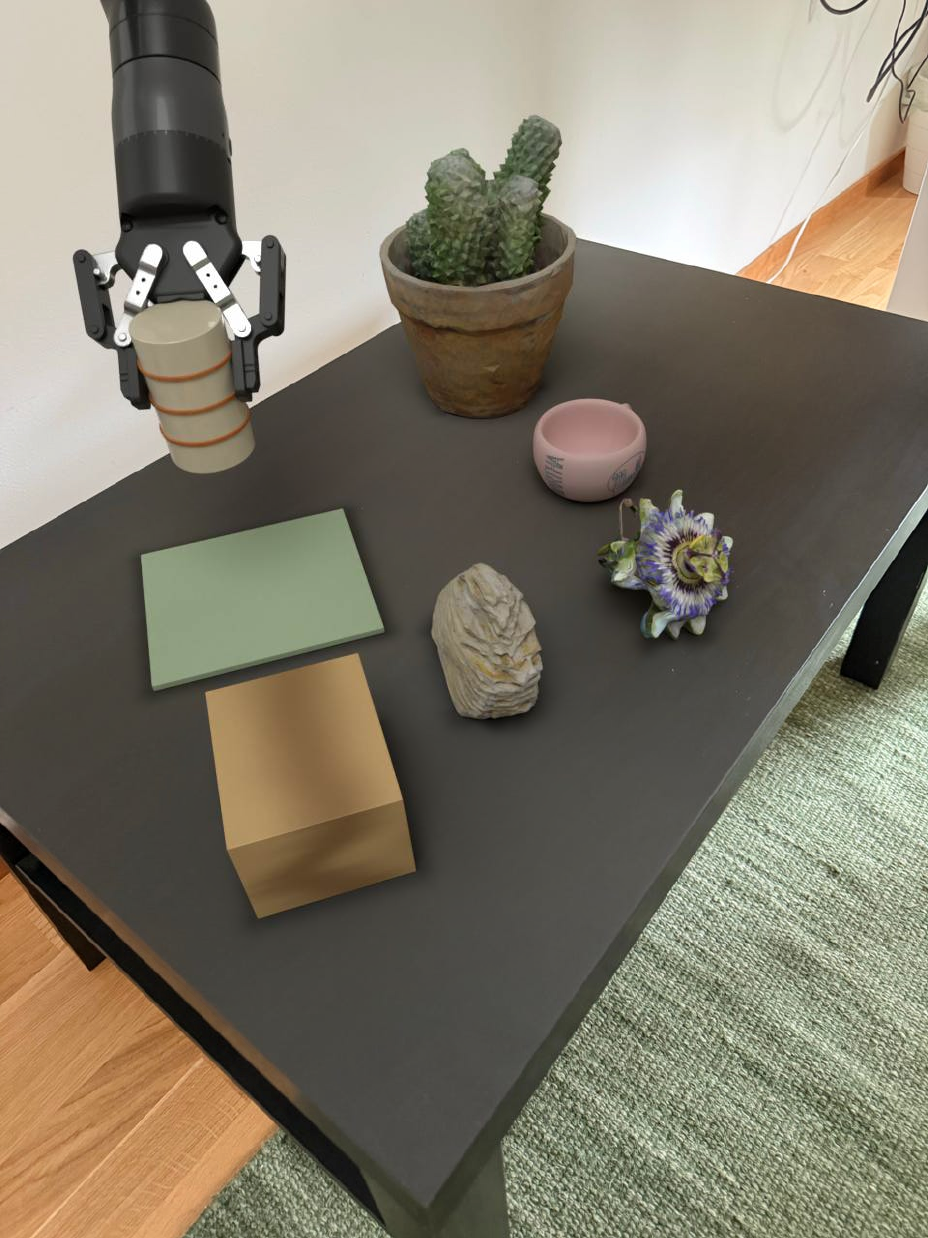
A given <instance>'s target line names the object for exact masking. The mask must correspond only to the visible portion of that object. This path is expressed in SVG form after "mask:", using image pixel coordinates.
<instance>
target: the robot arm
mask: <svg viewBox="0 0 928 1238" xmlns="http://www.w3.org/2000/svg"><path fill="white" fill-rule="evenodd" d="M99 2H100V5H101V7H102V10H103V12H104V15H105V18H106V20H107V23H108V40H109V41H108V42H109V52H110V64H111V77H112V96H111V97H112V98H111V112H110V115H111V117H110V118H111V131H112V143H113V156H114V170H115V171H114V172H115V181H116V182H115V183H116V194H117V207H118V219H119V226H120V235H119V239H118V242H117V244H116V246H115V248H114V250H111V251H106V252H100V253H95V254H94V253H93V254H91V252H89V251H88V250H87V249H84V248H80V249H77V250H75V252H74V253H73V255H72V264H73V269H74V274H75V280H76V284H77V291H78V296H79V301H80V307H81V311H82V312H81V313H82V317H83V318H82V319H83V323H84V328H85V333H86V335H87V336H88V337H89V338H90V339H92V340H93V341H94V342H95V343H97V344H99V346H101V347H103V348H104V349H106V350H114V351H116V354H117V364H118V375H119V376H118V377H119V379H118V380H119V389H120V392H121V395H122V397H123V398H125V399H126V400H127V401H129V403H130V405H131V406H132V407H134V408H135V409H136V410H138V411H144V410H145V411H146V410H151V409H152V404H151V402H150V400H149V396H148V394H149V390H148V387H147V384H146V381H145V378H144V375H143V374H142V373H141V372H140V370H139V368H138V365H137V355H136V352H135V349H134V346H133V343H132V340H131V337H130V334H129V331H128V327H129V323H130V322H131V320H132V319H133V318H134V317H135V316H136V315H137V314H138V313H141V312H142V311H143V310H145V309H147V308H149V307H151V306H153V305H156V304H159V303H171V302H175V301H179V300H191V301H195V300H196V301H197V300H207V301H210V302H213V303H215V304H216V305H217V307H219V308H220V309H221V311H222V314H223V318H224V320H225V321H226V322H227V324H228V325H229V327H230V328H231V330H232V332H233V336H234V339H230V340H231V352H232V364H233V377H234V389H235V395H236V398H237V399H238V400H239V401H240V402H242V403H243V402H246V403H252V402H253V398H254V397H253V394H257V393H259V392H260V388H261V384H262V383H261V371H260V361H259V360H260V359H259V358H260V357H259V346H260V344H261V343H262V342H263V341H264V340H266V339H268V338H271V337H275V338H276V337H279V336H281V335H283V334H284V332H285V329H286V328H285V327H286V326H285V325H286V290H287V289H286V285H287V254H286V252H285V250H284V248H283V246H282V244H281V242H280V240H279V239H278V237H277V236H275V235H273V234H268V235H265V236H264V237H262V239H261V240H242V239H241V237H240V235H239V233H238V228H237V217H236V203H235V190H234V177H233V165H232V163H233V162H232V156H233V145H232V139H231V138H230V128H229V119H228V115H227V110H226V109H227V108H226V106H225V105H226V104H225V101H224V95H223V87H222V86H223V84H222V73H221V61H220V60H221V59H220V50H219V49H220V47H219V46H220V45H219V39H218V37H219V36H218V30H217V23H216V19H215V15H214V13H213V10H212V8H211V5H210V4H209V3H208V1H207V0H99ZM246 260H247V261H250V265H251V267H252V269H253V271H254V272H255V274H256V275H257V276H259V306H258V307H259V308H258V313H257V314H255V315H252V316H250V317H248V316H247V314H246V312H245V311H244V309H243V308H242V306H241V304H240V302H239V301H238V299H237V298H236V296H235V295H234V293H233V292H232V290H231V289H230V286H231V284H232V283H233V281H234V279H235V278H236V276H237V275H238V273H239V272H240V269H241V268H242V266H243V265H244V263H245V261H246ZM121 270H123V272H124V273H125V274H126V275H127V276H128V278H129V279H130V280H131V281H132V283H131V285H130V287H129V289H128V292H127V294H126V296H125V299H124V301H123V312H122V315H121V317H120V319H119V322H118V324H117V327H116V323H115V318H114V316H115V315H114V312H113V307H112V301H111V295H110V289H111V288H112V287H114V286H115V283H116V275H117V273H119V271H121Z"/></svg>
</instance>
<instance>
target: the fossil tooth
mask: <svg viewBox="0 0 928 1238" xmlns="http://www.w3.org/2000/svg"><path fill="white" fill-rule="evenodd" d="M523 598H524V594H523V592H521V591H520V589H519V588H518V587H516V586H515V585H514V584H513V582H511V581H510V580H509V578H508V577H507V576H506V575H505V574H501V573H499V572H498V571H497V570H495V568H493V567H492V566H491V565H488V564H485V563H483V562H479V563H475V564H472V566H471V567H469V568H468V569H465V570H464V571H463V572H460V573H459V574H457V576H455V577H454V578H452V579H451V580H450V581H449V582H448V583H447V584H446V585H445V586H444V588H442V589H441V591H440V592H439V593H438V596H437V598H436V603H435V605H434V611H433V614H432V627H431V638H432V639H433V641H434V644H435V645H436V647H437V653H438V658H439V661H440V664H441V668H442V670H443V674H444V677H445V681H446V682H445V683H446V686H447V688H448V692H449V695H450V698H451V702H452V704H453V706H454V708H455V710H456V713H458V715H460V716H461V717H464V718H471V719H477V720H485V719H488V718H492V719H497V718H503V717H512V716H514V715H518V714H523V713H527V712H529V710H530V709H532V707H534V706H535V704H536V702H537V700H538V699H539V697H538V694H539V693H540V690H539V684H538V683H539V681H540V679H541V672H542V671H543V669H544V668H543V662H542V657H541V655H540V653H539V652H540V651H541V650H542V647H541V645H540V641H539V639H538V637H537V635H536V634H537V633H536V629H535V625H536V624H537V621H536V619H535V618H534V616H533V613H532V611H531V609H530V607H529V605H528V604H527V603H526V602H525V601H524V600H523Z"/></svg>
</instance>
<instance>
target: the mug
mask: <svg viewBox="0 0 928 1238" xmlns="http://www.w3.org/2000/svg"><path fill="white" fill-rule="evenodd" d="M632 409H633V408H632V406H631V405H630V404H629V403H621V404H620V403H619V402H615V401H611V400H607V399H601V398H579V399H573V400H568V401H565V402H561V403H559V404H557V405H555V406H553V407H551V408H549V409H548V410H547V411H545V412H544V414H542V415H541V417H540V418H539V419H538V420H537V422H536V424H535V427H534V431H533V435H532V436H533V438H532V455H533V460H534V463H535V466H536V469H537V470H538V473H539V474H540V476H541V479H542V480H543V482H544V483H545V484H546V485H547V487H548V488H549V489H550V490H551V491H553V492H554V493H555V494H556V495H559V496H561V497H563V498H566V499H568V500H570V501H577V502H580V503H581V502H583V503H593V502H601V501H606V500H609V499H612V498H615V497H616V496H618V495H620V494H622V493H623V492H624V491H625V490H627V488H629V486H631V485H632V483H633V481H635V479H636V477H637V475H638V474H639V472H640V470H641V469H642V467H643V463H644V461H645V457H646V451H647V433H646V427H645V425H644V422H643V421H642V419H641V417H639V415H637V413H636V412H635V411H633V410H632Z"/></svg>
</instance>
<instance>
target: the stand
mask: <svg viewBox="0 0 928 1238" xmlns="http://www.w3.org/2000/svg"><path fill="white" fill-rule="evenodd" d="M204 694H205V700H206V701H205V702H206V708H207V715H208V716H207V717H208V724H209V730H210V737H211V745H212V753H213V759H214V766H215V767H214V768H215V773H216V782H217V789H218V797H219V802H220V811H221V818H222V824H223V832H224V839H225V847H226V852H227V853H228V855H229V858H230V860H231V862H232V864H233V867H234V870H235V871H236V874H237V876H238V878H239V880H240V882H241V884H242V887H243V888H244V891H245V893H246V895H247V897H248V900H249V902H250V904H251V906H252V909H253V911H254V913H255V915H256V917H257V919H258V920H259V919H262V918H265V917H266V918H267V917H269V916H272V915H276V914H278V913H282V912H285V911H289V910H292V909H295V908H298V907H301V906H305V905H309V904H312V903H316V902H319V901H322V900H326V899H328V898H332V897H335V896H338V895H343V894H345V893H348V892H352V891H355V890H359V889H361V888H362V889H363V888H366V887H368V886H372V885H375V884H379V883H382V882H385V881H388V880H391V879H395V878H399V877H401V876H405V875H409V874H411V873H415V872H416V871H417V868H416V862H415V857H414V852H413V847H412V841H411V836H410V830H409V825H408V819H407V818H408V817H407V814H406V809H405V802H404V798H403V795H402V792H401V789H400V785H399V782H398V778H397V776H396V775H397V774H396V772H395V769H394V766H393V765H394V764H393V762H392V758H391V756H390V752H389V749H388V745H387V741H386V739H385V736H384V733H383V729H382V726H381V722H380V719H379V716H378V714H377V713H378V712H377V709H376V706H375V703H374V700H373V697H372V693H371V690H370V687H369V684H368V681H367V676H366V674H365V671H364V668H363V664H362V661H361V658H360V654H359V653H358V652H355V653H352V654H351V653H350V654H347V655H345V656H344V655H343V656H339V657H336V658H332V659H329V660H325V661H320V662H317V663H313V664H309V665H306V666H301V667H298V668H294V669H290V670H286V671H282V672H277V673H275V674H271V675H266V676H263V677H259V678H255V679H251V680H247V681H244V682H240V683H236V684H232V685H228V686H224V687H220V688H217V689H212V690H209V691H205V693H204Z"/></svg>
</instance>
